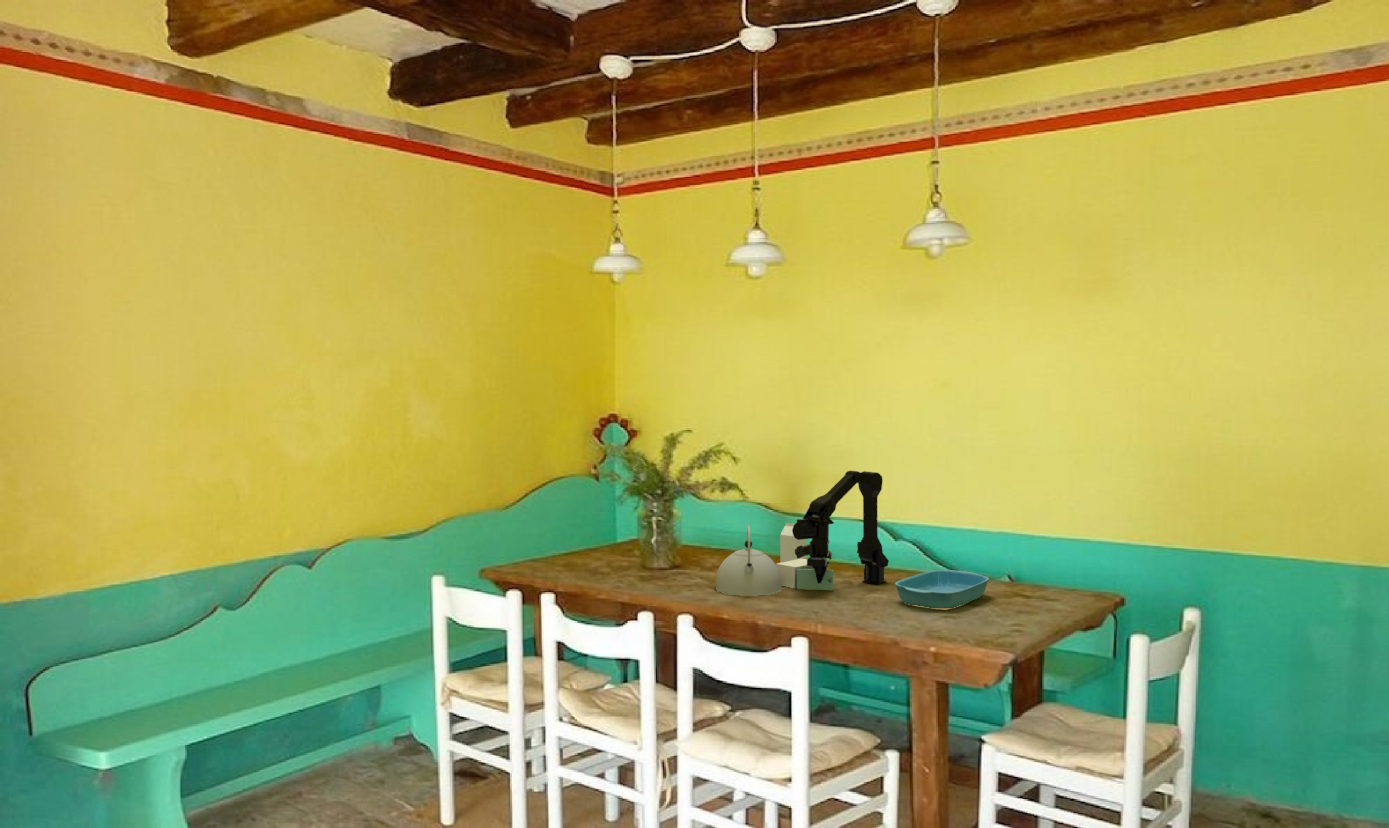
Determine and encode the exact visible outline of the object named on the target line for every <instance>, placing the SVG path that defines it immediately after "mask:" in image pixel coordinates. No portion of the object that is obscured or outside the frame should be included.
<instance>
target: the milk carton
mask: <svg viewBox="0 0 1389 828" xmlns="http://www.w3.org/2000/svg"><path fill="white" fill-rule="evenodd" d="M795 524H796V523H792V522H785V523H784V527H783V529H782V530H781V533H780V534H779V535H780V538H779V539H780V540H779V541H780V543H779V545H780V546H779V547H780V549H779V552H780V556H779V558H780V559H779V560H780V561H779V563H782V562H787V561H792V560H797V556H796V555H795V549H796V548H797V546H801V545H802V546H805V545H807V539H801V540H797V539H796V538H795V537H794V536H793V532H792V529H793V526H794V525H795ZM798 559H807V555H806V556H803V557H801V558H798Z"/></svg>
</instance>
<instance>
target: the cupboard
mask: <svg viewBox="0 0 1389 828" xmlns="http://www.w3.org/2000/svg"><path fill="white" fill-rule="evenodd" d="M807 559H808V558H806V559H797V560H792V561H787V562H782V563H780V562H778V563H775V565H776V566H777V568H778V570H779V573H780V578H781V587H783V586H786V587H785V588H788V587H790V589H793V588H797V569H814V568H813V567H812V566H807Z"/></svg>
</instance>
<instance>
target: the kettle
mask: <svg viewBox="0 0 1389 828" xmlns="http://www.w3.org/2000/svg"><path fill="white" fill-rule="evenodd" d="M744 546H745V548H743V549H739V550H736V551H734V552H733V553H731V554H730V555H728V556H727V557H726V558H725V559H724V560H723V562H721V564H720V566H719V567H718V571H717V573H716V577H715V578H716V580H715V590H717V591H716V592H718V593H720V592H721V593H720V594H722V593H723V594H722V595H726V594H728V596H732V595H743V596H742V597H745V596H754V597H759V596H758V595H767V596H772V595H771V594H773V595H775V594H774V593H776V594H778V593H777V592H779V593H781V592H782V586H781V578H780V573H779V570H778V568H777V566H776V563H775V561H774V560H773V559H772V558H771V557H770V556H768V555H767V554H766V553H764V552H763V551H761V550H758V549H754V548H752V546H753V542H752V541H751V527H750V524H747V525H746V541H745V542H744Z"/></svg>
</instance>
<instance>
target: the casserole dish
mask: <svg viewBox="0 0 1389 828" xmlns="http://www.w3.org/2000/svg"><path fill="white" fill-rule="evenodd" d="M989 579H990V578H989V576H985V575H982V574H979V573H976V572H972V571H964V570H954V569H934V570H928V571H925V572H921V573H918V574H915V575H912V576H909V577H905V578H903V579H900V580H898V581H896V582H894V583H895V587H896V590H897V594H898V595H899V598H900V601H901V602H902V603H904V604H905V603H906V604H910V605H918V606H924V607H929V608H954V607H957V606H959V605H962V606H964V605H963V604H965V603H967V602H969V601H972V600H974V601H976V600H978V599H979V598H981V597H982V596H983V595H984V594H985V591H986V588H987V585H988V582H989ZM977 598H978V599H977ZM975 599H976V600H975ZM972 602H973V601H972ZM906 604H905V605H906ZM967 604H968V603H967ZM910 605H909V606H910ZM965 605H966V604H965ZM957 608H958V607H957ZM954 609H955V608H954Z"/></svg>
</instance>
